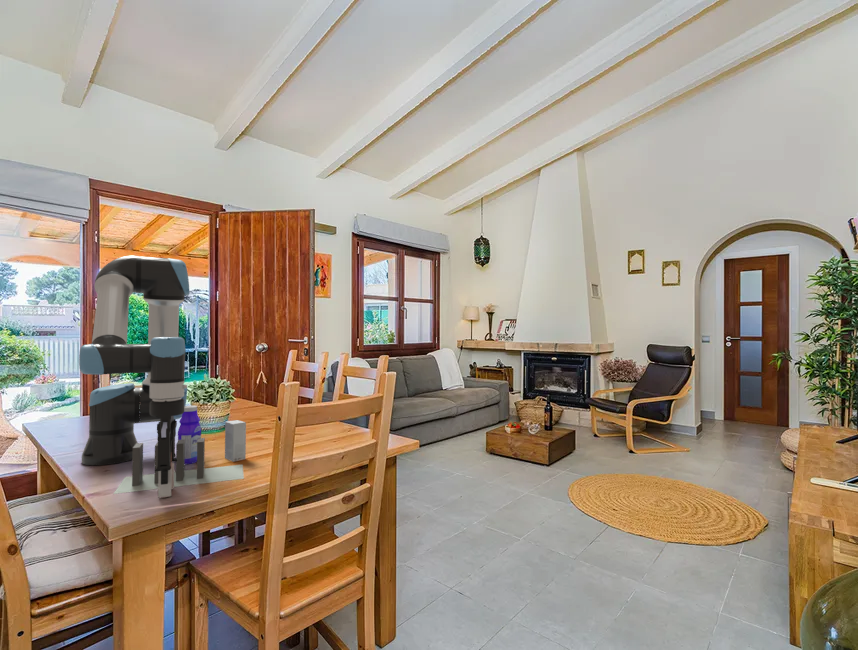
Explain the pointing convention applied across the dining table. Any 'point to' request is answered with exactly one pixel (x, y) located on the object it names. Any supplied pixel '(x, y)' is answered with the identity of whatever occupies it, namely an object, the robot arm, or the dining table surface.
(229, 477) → the mat
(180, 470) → the domino
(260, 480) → the dining table surface
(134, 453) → the domino
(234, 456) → the skincare box
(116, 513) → the dining table surface
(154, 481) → the domino
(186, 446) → the bottle
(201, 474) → the domino
